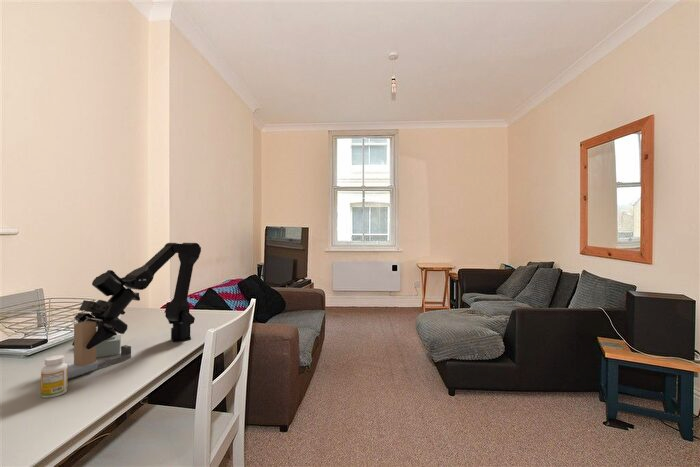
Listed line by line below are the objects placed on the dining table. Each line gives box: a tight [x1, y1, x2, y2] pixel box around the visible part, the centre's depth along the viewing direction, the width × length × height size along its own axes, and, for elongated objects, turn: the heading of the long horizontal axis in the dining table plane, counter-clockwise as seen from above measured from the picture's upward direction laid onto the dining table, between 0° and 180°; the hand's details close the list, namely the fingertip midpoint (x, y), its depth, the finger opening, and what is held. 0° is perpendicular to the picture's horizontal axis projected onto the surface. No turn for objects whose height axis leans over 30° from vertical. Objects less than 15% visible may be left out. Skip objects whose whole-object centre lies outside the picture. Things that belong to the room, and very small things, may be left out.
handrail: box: [68, 344, 132, 380], centre depth 107 cm, size 22×3×4 cm, turn 158°
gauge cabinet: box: [96, 334, 122, 358], centre depth 122 cm, size 7×7×5 cm
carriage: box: [67, 321, 98, 379], centre depth 103 cm, size 8×6×14 cm, turn 158°
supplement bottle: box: [40, 354, 69, 399], centre depth 91 cm, size 5×5×10 cm
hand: (80, 347), depth 104 cm, fingers open, 6 cm apart
